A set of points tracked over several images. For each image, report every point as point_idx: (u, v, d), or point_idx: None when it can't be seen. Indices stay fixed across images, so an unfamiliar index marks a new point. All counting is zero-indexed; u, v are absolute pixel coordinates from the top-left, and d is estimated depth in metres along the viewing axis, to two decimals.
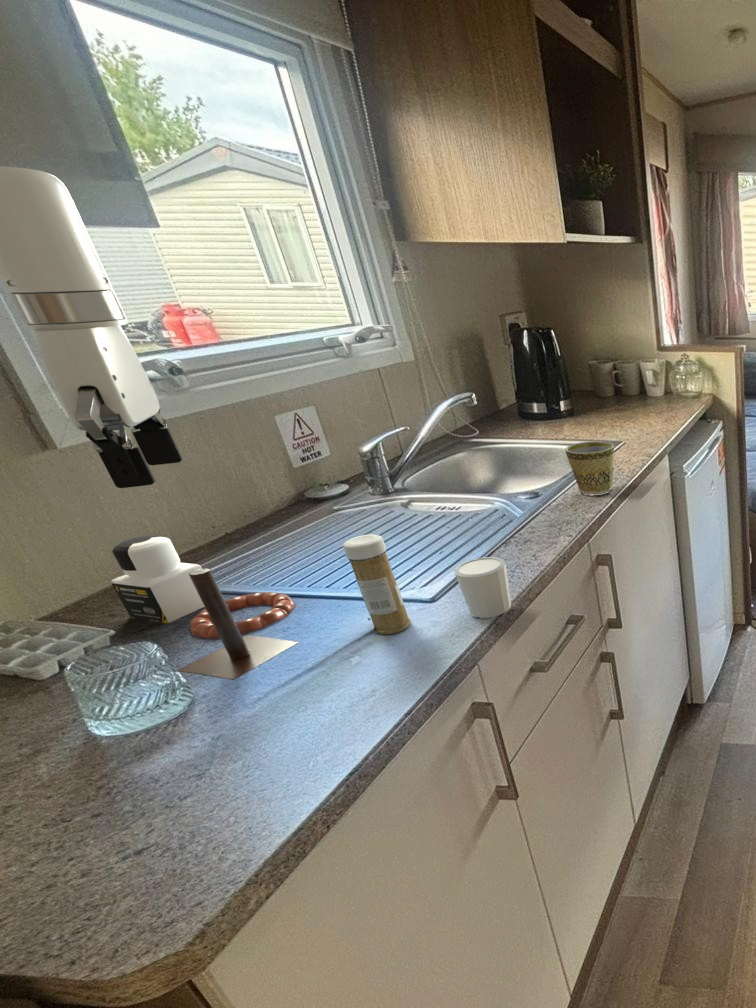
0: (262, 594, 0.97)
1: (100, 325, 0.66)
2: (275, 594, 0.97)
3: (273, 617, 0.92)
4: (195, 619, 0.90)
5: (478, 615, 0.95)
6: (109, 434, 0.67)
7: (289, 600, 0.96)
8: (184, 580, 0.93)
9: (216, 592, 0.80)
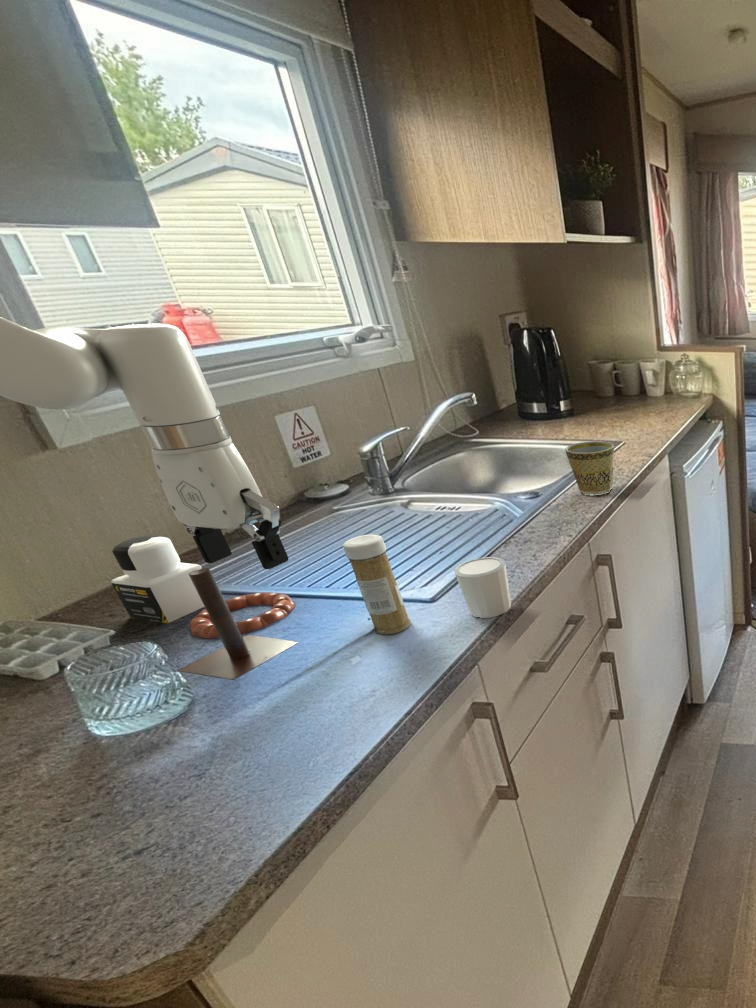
0: (262, 594, 0.97)
1: (230, 440, 0.82)
2: (275, 594, 0.97)
3: (273, 617, 0.92)
4: (195, 619, 0.90)
5: (478, 615, 0.95)
6: None
7: (289, 600, 0.96)
8: (184, 580, 0.93)
9: (216, 592, 0.80)
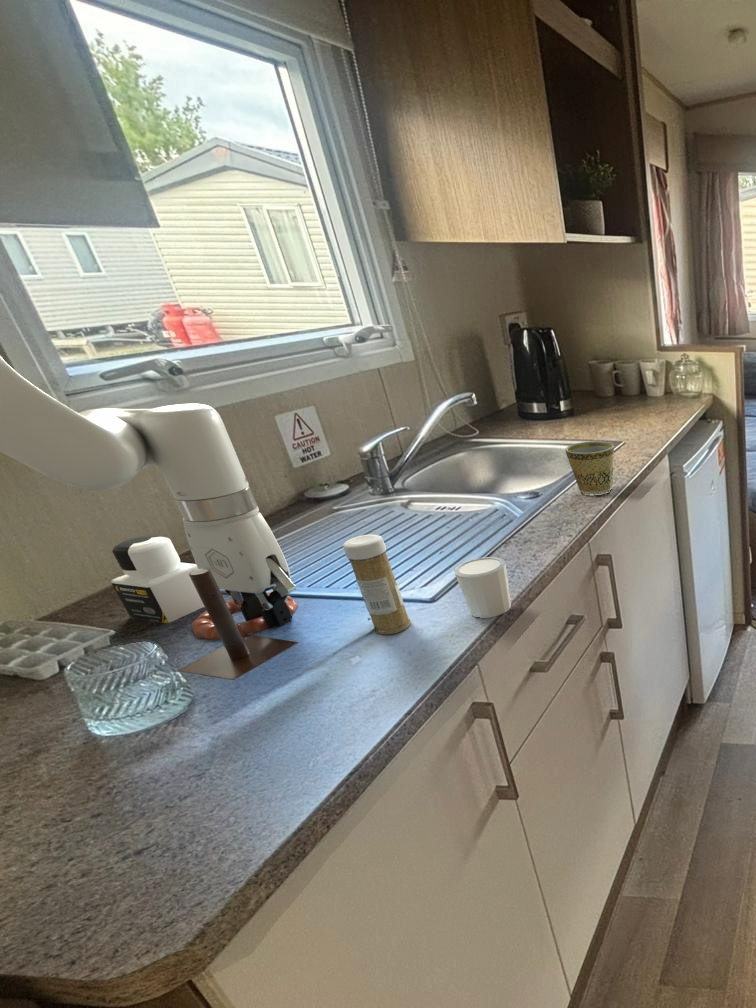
0: None
1: (258, 509, 0.86)
2: None
3: None
4: (197, 620, 0.90)
5: (478, 615, 0.95)
6: None
7: (292, 601, 0.96)
8: (184, 580, 0.93)
9: (216, 592, 0.80)
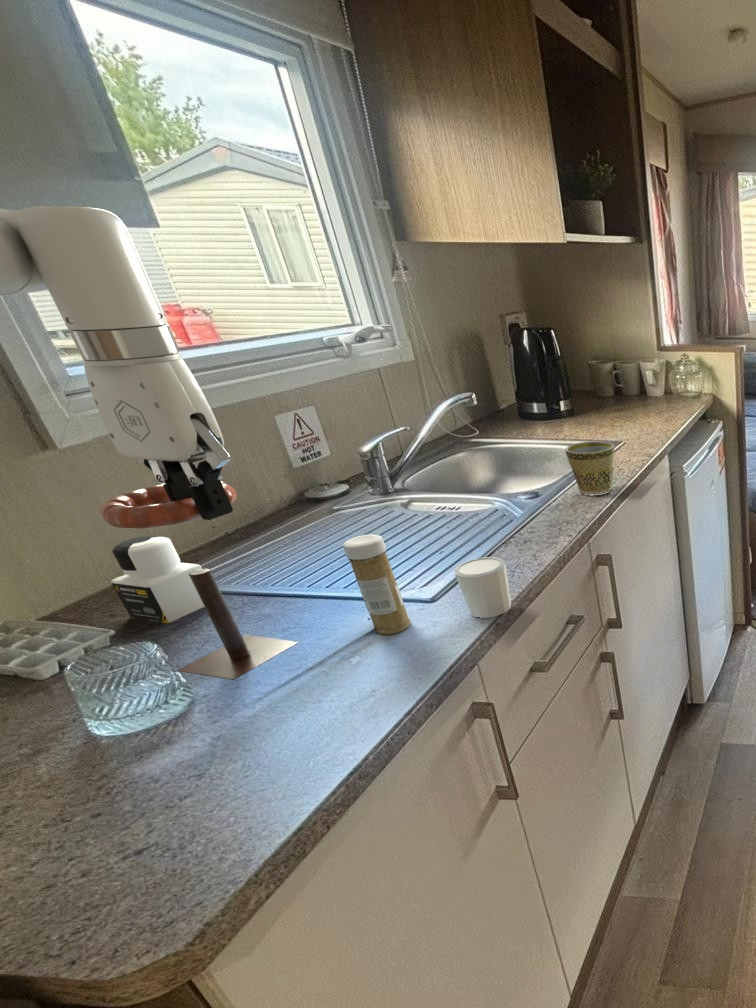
0: None
1: (180, 356, 0.70)
2: None
3: None
4: (107, 503, 0.73)
5: (478, 615, 0.95)
6: None
7: (228, 485, 0.79)
8: (184, 580, 0.93)
9: (216, 592, 0.80)
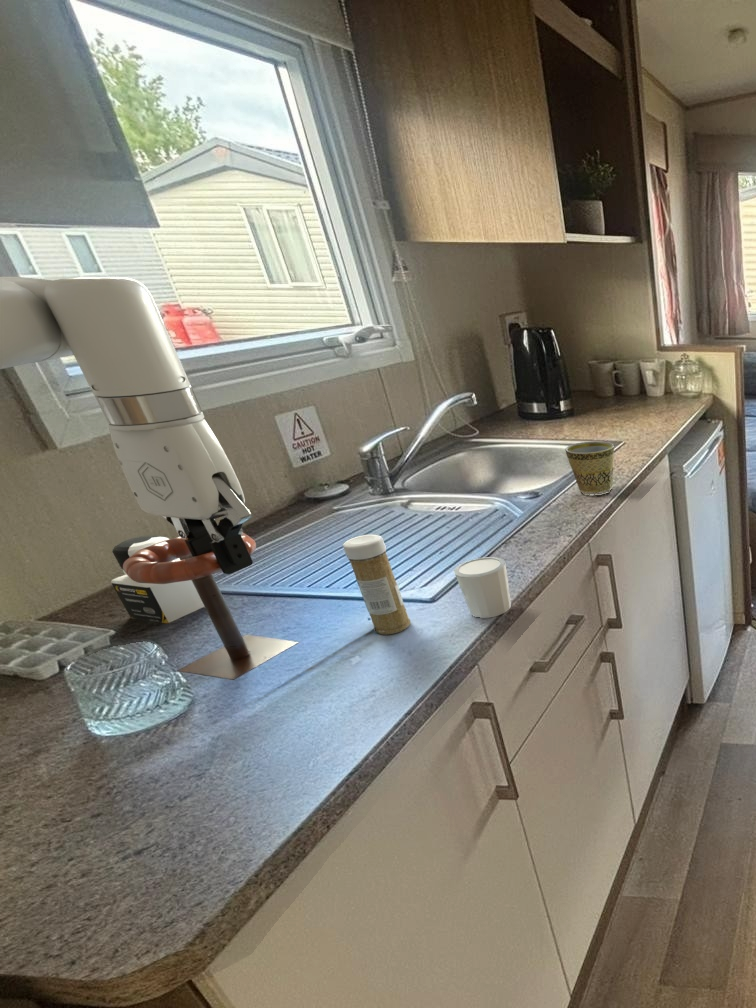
0: None
1: (203, 416, 0.71)
2: None
3: None
4: (130, 559, 0.74)
5: (478, 615, 0.95)
6: None
7: (248, 536, 0.80)
8: None
9: (216, 592, 0.80)
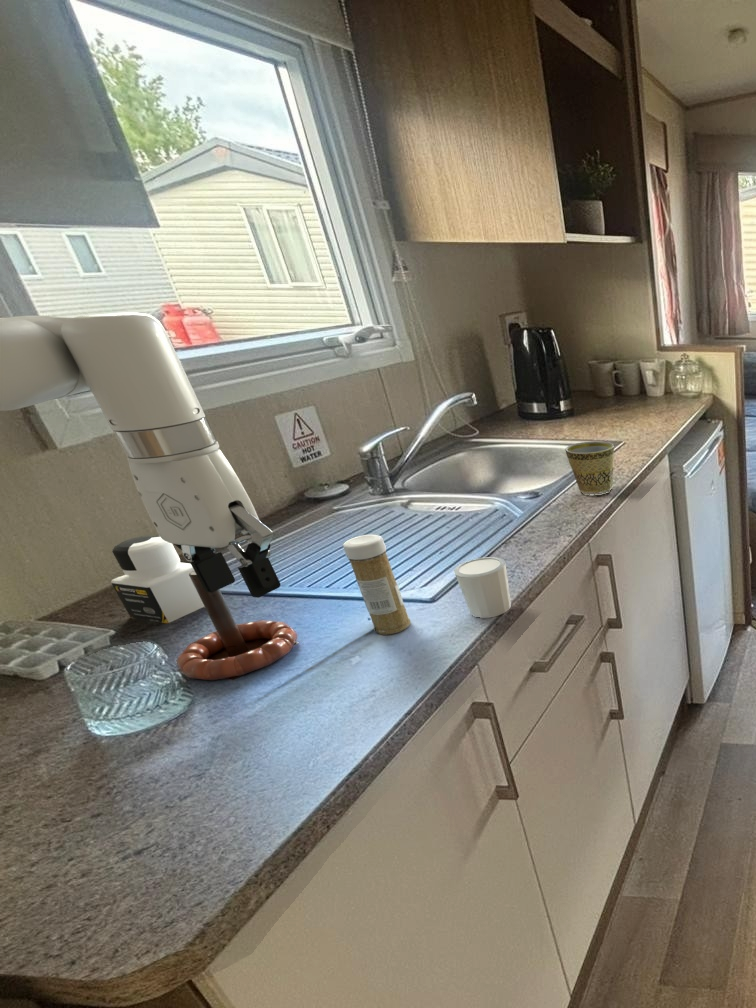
0: (256, 623, 0.87)
1: (218, 446, 0.72)
2: (271, 622, 0.87)
3: (276, 648, 0.82)
4: (184, 655, 0.80)
5: (478, 615, 0.95)
6: (269, 543, 0.74)
7: (290, 628, 0.86)
8: (184, 580, 0.93)
9: (216, 592, 0.80)
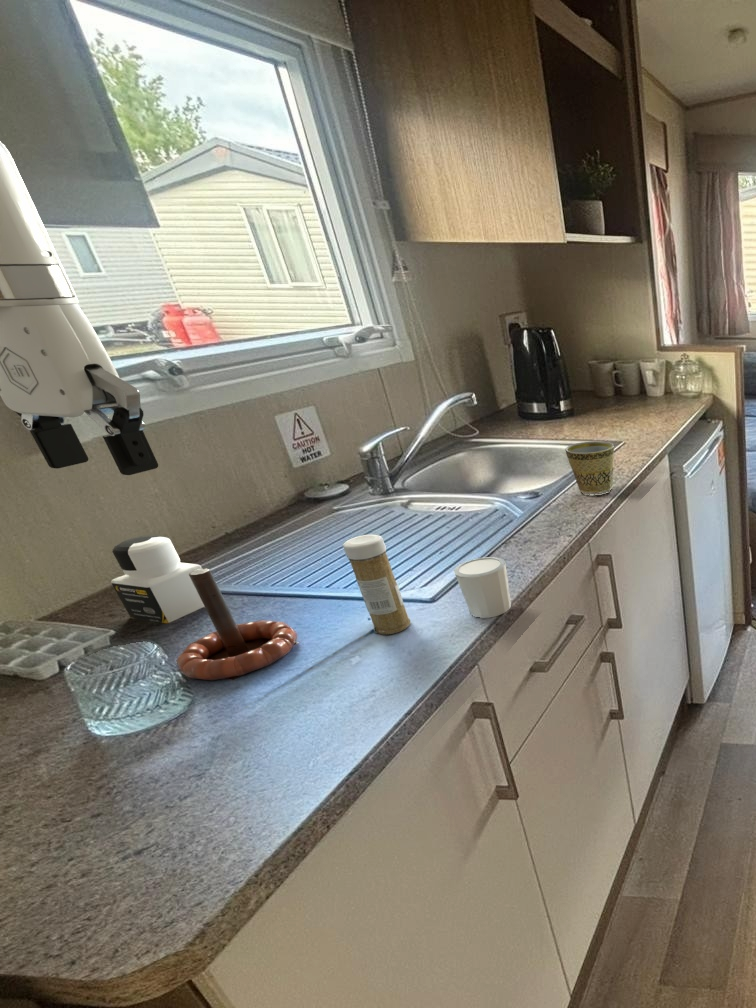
0: (256, 623, 0.87)
1: (76, 301, 0.63)
2: (271, 622, 0.87)
3: (276, 648, 0.82)
4: (184, 655, 0.80)
5: (478, 615, 0.95)
6: (142, 411, 0.65)
7: (290, 628, 0.86)
8: (184, 580, 0.93)
9: (216, 592, 0.80)
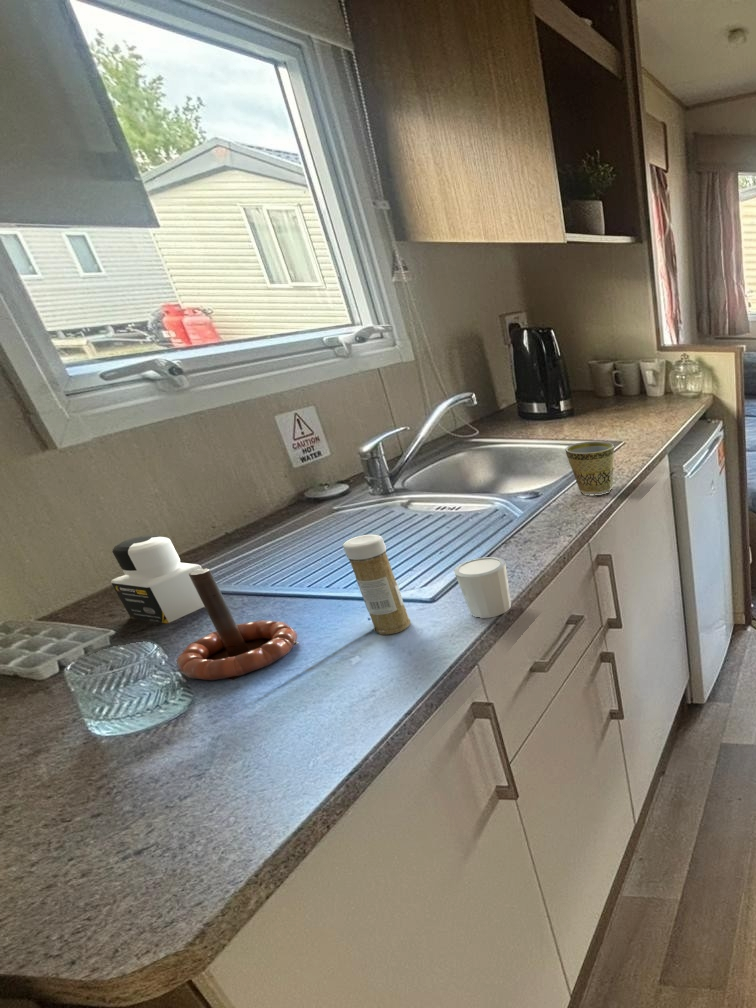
0: (256, 623, 0.87)
1: None
2: (271, 622, 0.87)
3: (276, 648, 0.82)
4: (184, 655, 0.80)
5: (478, 615, 0.95)
6: None
7: (290, 628, 0.86)
8: (184, 580, 0.93)
9: (216, 592, 0.80)
